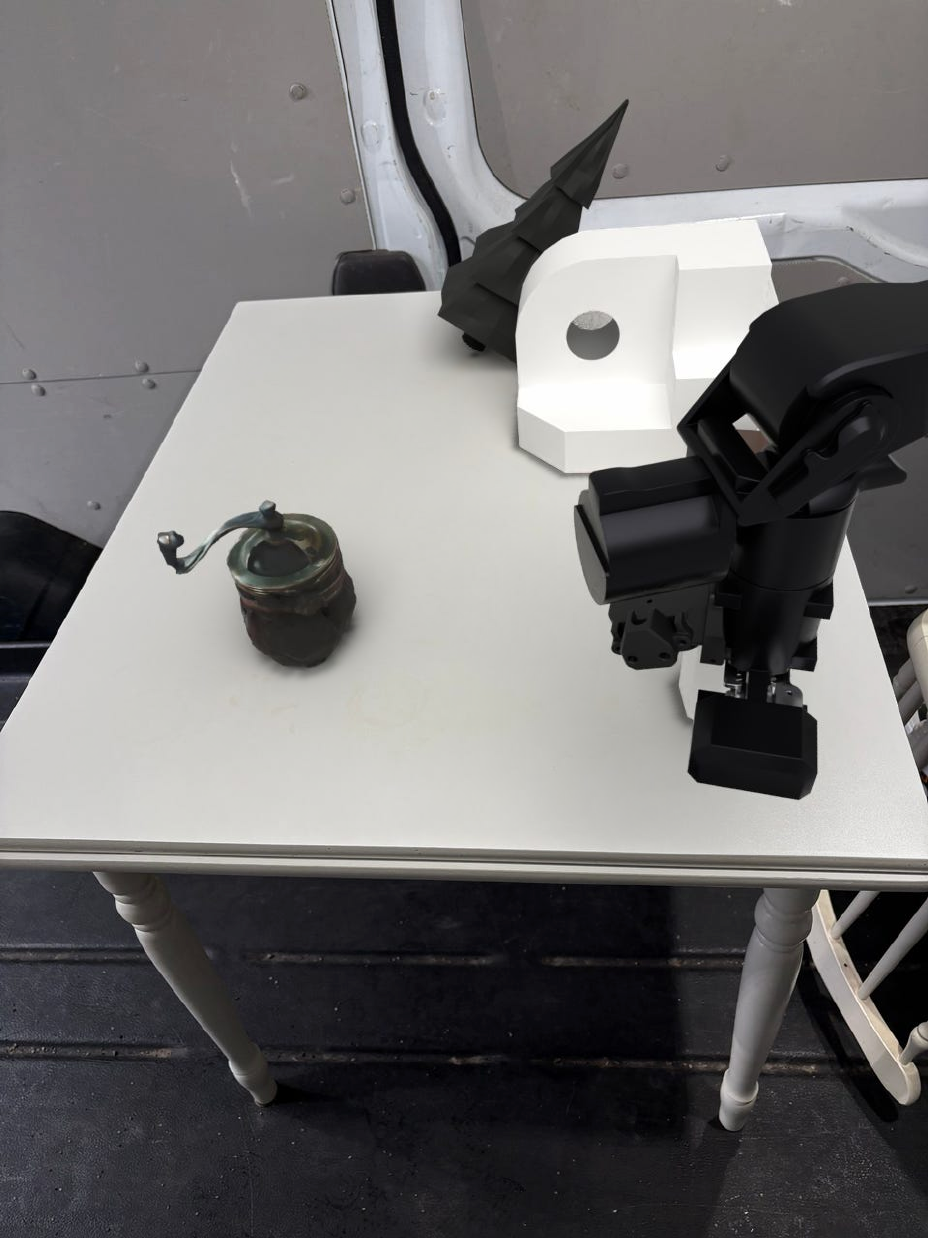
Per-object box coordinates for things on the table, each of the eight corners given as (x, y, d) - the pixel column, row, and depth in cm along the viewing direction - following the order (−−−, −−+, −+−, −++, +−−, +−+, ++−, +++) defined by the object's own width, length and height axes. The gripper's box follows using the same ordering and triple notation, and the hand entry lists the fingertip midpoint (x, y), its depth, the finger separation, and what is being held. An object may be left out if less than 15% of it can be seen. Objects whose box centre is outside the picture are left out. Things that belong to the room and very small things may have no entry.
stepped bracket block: (516, 474, 97) (505, 303, 82) (524, 395, 108) (515, 234, 94) (750, 469, 93) (781, 289, 78) (731, 388, 105) (756, 219, 90)
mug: (685, 652, 75) (696, 572, 68) (786, 670, 73) (808, 589, 66) (662, 760, 68) (672, 682, 61) (773, 784, 65) (797, 706, 58)
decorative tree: (515, 395, 115) (686, 157, 92) (421, 341, 110) (575, 77, 87) (519, 342, 125) (673, 116, 102) (432, 291, 120) (573, 43, 97)
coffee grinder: (196, 662, 81) (124, 516, 68) (315, 579, 87) (269, 432, 75) (274, 730, 74) (210, 583, 61) (396, 635, 81) (361, 484, 68)
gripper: (644, 440, 52) (633, 616, 63) (593, 665, 39) (591, 833, 51) (838, 454, 49) (790, 635, 60) (847, 701, 37) (785, 871, 48)
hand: (738, 732), depth 55 cm, fingers open, 4 cm apart
